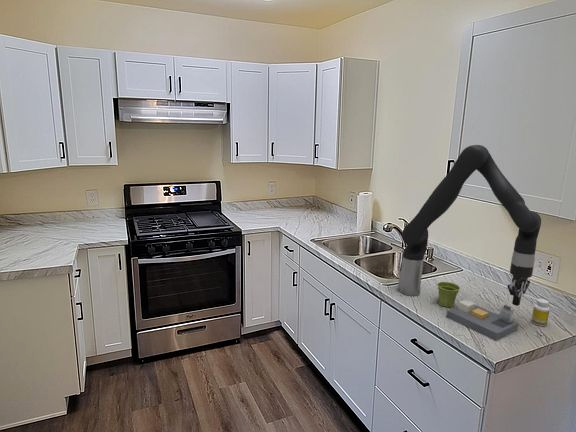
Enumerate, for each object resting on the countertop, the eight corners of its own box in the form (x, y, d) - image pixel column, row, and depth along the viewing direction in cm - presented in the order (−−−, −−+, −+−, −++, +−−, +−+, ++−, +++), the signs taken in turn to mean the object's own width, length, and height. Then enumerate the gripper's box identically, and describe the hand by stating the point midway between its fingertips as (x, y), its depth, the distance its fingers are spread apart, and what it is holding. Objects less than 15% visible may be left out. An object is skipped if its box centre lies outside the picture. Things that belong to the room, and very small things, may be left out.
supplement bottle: (547, 327, 155) (552, 304, 153) (532, 324, 157) (536, 302, 155) (544, 321, 160) (549, 299, 158) (529, 318, 162) (533, 296, 160)
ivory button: (457, 310, 163) (458, 302, 162) (463, 308, 165) (465, 299, 165) (467, 315, 159) (468, 306, 158) (473, 312, 162) (475, 303, 161)
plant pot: (462, 306, 172) (465, 288, 170) (447, 310, 167) (449, 292, 165) (445, 298, 180) (447, 280, 178) (430, 301, 175) (432, 283, 173)
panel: (446, 317, 162) (447, 310, 161) (467, 308, 170) (468, 302, 169) (496, 340, 145) (497, 333, 144) (517, 330, 153) (518, 322, 152)
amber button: (470, 319, 159) (471, 310, 158) (476, 317, 161) (478, 308, 160) (480, 324, 155) (482, 315, 154) (487, 321, 157) (488, 312, 156)
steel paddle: (498, 319, 154) (501, 304, 153) (500, 318, 155) (503, 303, 154) (509, 323, 151) (511, 308, 150) (511, 322, 152) (513, 307, 150)
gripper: (521, 257, 158) (514, 297, 161) (503, 263, 150) (497, 305, 154) (541, 263, 151) (534, 304, 155) (523, 269, 144) (516, 312, 148)
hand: (515, 304), depth 155 cm, fingers closed
